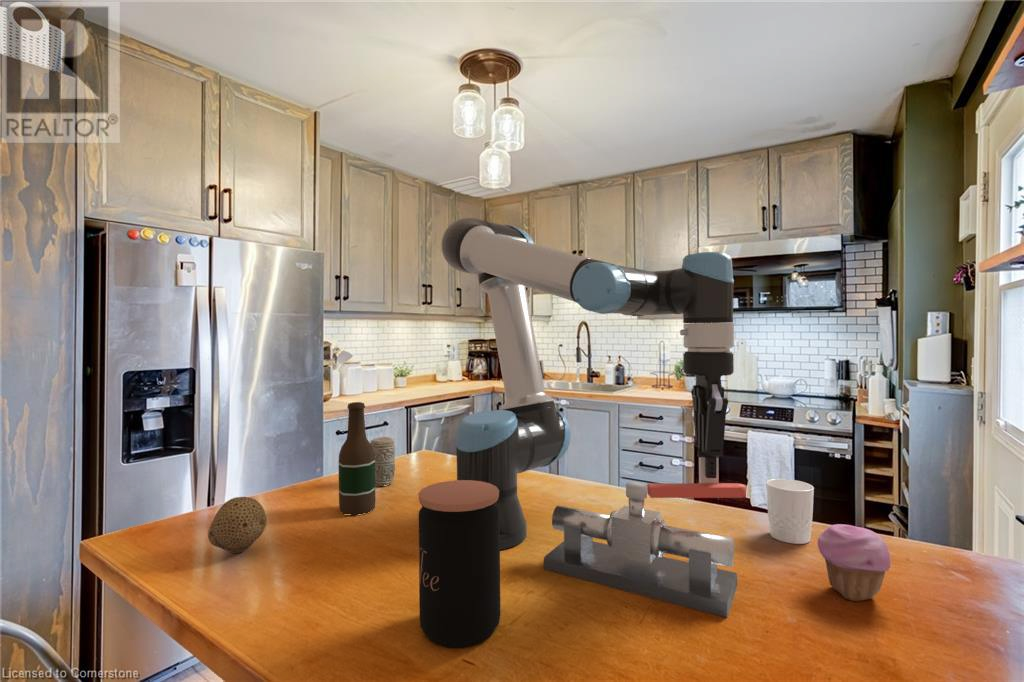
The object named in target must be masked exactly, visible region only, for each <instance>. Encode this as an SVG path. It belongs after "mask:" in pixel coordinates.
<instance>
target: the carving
mask: <svg viewBox="0 0 1024 682" xmlns="http://www.w3.org/2000/svg"><path fill="white" fill-rule="evenodd" d="M370 444H371V445H372V448H373V450H374V455H375V487H378V486H384V485H388V484H390V485H391V484H393V481H394V477H395V469H396V462H395V460H396V459H395V458H396V456H395V455H396V445H395V441H394V439H393V437H387V436H382V437H380V436H379V437H377V438H373V439H371V440H370ZM388 486H389V485H388Z"/></svg>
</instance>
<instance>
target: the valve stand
mask: <svg viewBox="0 0 1024 682" xmlns="http://www.w3.org/2000/svg"><path fill="white" fill-rule="evenodd" d="M661 514H662V513H661V511H656V510H652V509H646V508H645V499H640V500H637V499H630V498H628V505H624V506H622V507H621V508H620V509H619V510H612V511H611V512H610V514H606V513H602V512H601V513H600V512H597V511H596V512H595V511H591V510H586V509H579V508H574V507H569V506H564V505H559V504H558V505H556V506H555V508H554V509H553V512H552V516H551V525H552V529H553V530H556V531H560V532H563V541H562V542H561V543H560V544H558V545H557V546H556V547H555V548H553V549H552V550H551V551H549V552H548V553H547V554H546V555H545V556H544V557H543V570H545V569H546V571H549V572H553V571H554V572H553V573H556V572H557V574H560V575H564V576H568V577H573V578H576V579H580V580H582V581H583V580H584V581H588V582H591V583H595V584H599V585H602V586H605V587H610V588H612V589H617V590H621V591H625V592H629V593H633V594H636V595H641V596H643V597H648V598H652V599H655V600H658V601H663V602H667V603H670V604H674V605H678V606H682V607H684V608H685V607H686V608H689V609H692V610H696V611H701V612H704V613H708V614H711V615H716V616H720V617H723V618H728V616H729V613H730V610H731V607H732V604H733V600H734V597H735V594H736V592H737V587H738V573H737V572H736V571H735V572H734V571H730V570H725V569H720V568H717V567H718V566H724V567H728V568H733V565H734V559H735V540H734V537H731V536H725V535H719V534H714V533H709V532H704V531H698V530H693V529H687V528H682V527H676V526H671V525H667V521H666V520H665V519H662V518H661V516H662V515H661ZM593 539H598V540H603V541H606V542H607V543H602V542H598V541H593ZM664 554H668V555H672V556H676V557H682V558H687V559H688V561H684V560H679V559H674V558H671V557H666V556H664Z"/></svg>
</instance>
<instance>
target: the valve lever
mask: <svg viewBox="0 0 1024 682" xmlns="http://www.w3.org/2000/svg"><path fill="white" fill-rule="evenodd" d="M647 495H648V496H649V498H651V499H654V498H655V499H659V498H660V499H673V498H674V499H679V498H680V499H681V498H683V499H688V498H689V499H696V498H697V499H703V498H704V499H710V498H711V499H713V498H714V499H720V498H721V499H724V498H725V499H730V498H731V499H732V498H733V499H737V498H738V499H742V498H747V485H746V484H743V483H738V482H735V483H734V482H733V483H732V482H729V483H727V482H726V483H723V482H722V483H720V482H719V483H699V482H697V483H693V482H691V483H686V482H684V483H675V482H671V483H668V482H667V483H659V482H658V483H657V482H656V483H655V482H653V483H650V482H649V483H647V484H646V483H643V482H640V481H639V482H638V481H630V482H627V483H625V496H626V498H628V499H629V498H630V499H637V500H640V499H644V500H645V499H647V498H648V496H647Z"/></svg>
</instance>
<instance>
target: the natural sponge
mask: <svg viewBox="0 0 1024 682" xmlns="http://www.w3.org/2000/svg"><path fill="white" fill-rule="evenodd" d="M267 520H268V519H267V515H266V510H265V509H264V507H263V506H262V503H260V502H259V501H258V500H256V499H255V498H253V497H249V496H236V497H233V498H230V499H229V500H227V501H226V502H224V504H222V505H221V507H220V508H219V509H218V510H217V512H216V514H215V515H214V518H213V520H212V521H211V524H210V525H209V528H208V531H207V538H208V542H209V543H210V544H211V545H212V546H214V547H216V548H219V549H222V550H224V551H226V552H228V553H232V554H241V553H243V552H245V551H247V550H248V549H249V548H250V547H251V546H252V545H253V544H254V543H255V542H256V541H257V540H258V539H259V538H260V537H261V536H262V535H263V533H264V531H265V529H266V527H267V523H268V522H267ZM240 552H241V553H240Z"/></svg>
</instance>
